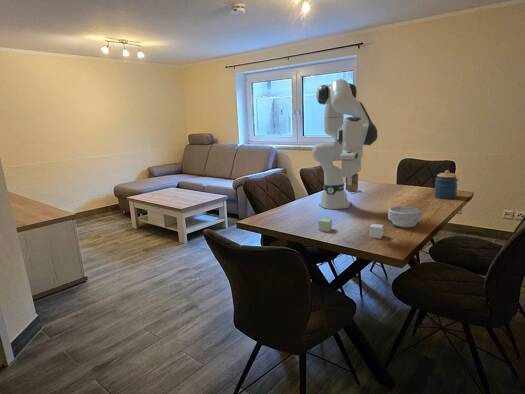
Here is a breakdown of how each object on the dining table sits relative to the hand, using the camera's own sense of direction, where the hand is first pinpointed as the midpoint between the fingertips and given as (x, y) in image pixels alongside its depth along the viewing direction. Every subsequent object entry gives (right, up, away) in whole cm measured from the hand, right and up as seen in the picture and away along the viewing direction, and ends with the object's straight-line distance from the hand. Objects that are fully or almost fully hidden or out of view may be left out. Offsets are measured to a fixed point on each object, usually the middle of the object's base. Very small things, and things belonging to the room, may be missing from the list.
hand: (351, 183), depth 154 cm
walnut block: (0, -3, +1) cm, 3 cm away
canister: (+78, -6, +64) cm, 101 cm away
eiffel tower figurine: (+25, -3, +91) cm, 94 cm away
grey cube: (+10, -24, -2) cm, 26 cm away
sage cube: (-11, -22, +9) cm, 26 cm away
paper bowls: (+29, -20, +12) cm, 37 cm away
